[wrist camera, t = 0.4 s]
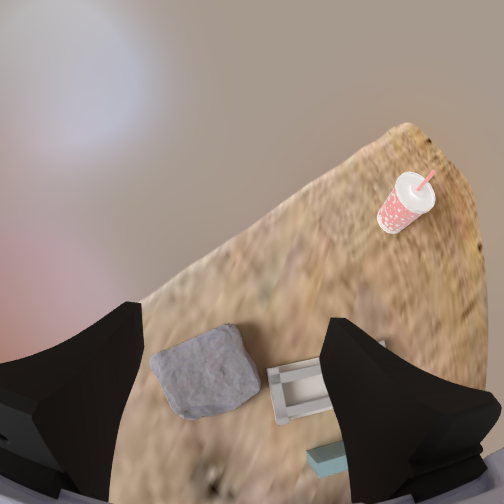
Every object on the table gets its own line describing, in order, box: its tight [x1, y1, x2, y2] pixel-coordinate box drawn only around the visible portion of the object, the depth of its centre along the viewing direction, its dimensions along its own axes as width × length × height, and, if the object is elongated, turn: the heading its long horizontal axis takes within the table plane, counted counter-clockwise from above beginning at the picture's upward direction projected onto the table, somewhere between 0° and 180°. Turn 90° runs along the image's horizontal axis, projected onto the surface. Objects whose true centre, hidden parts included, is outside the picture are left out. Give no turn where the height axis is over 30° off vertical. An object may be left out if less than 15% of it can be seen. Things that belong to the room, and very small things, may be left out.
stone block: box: [149, 323, 261, 420], centre depth 35 cm, size 12×5×10 cm
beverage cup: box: [377, 169, 437, 234], centre depth 39 cm, size 6×6×14 cm
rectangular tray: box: [266, 341, 386, 425], centre depth 35 cm, size 7×15×3 cm, turn 100°
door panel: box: [306, 441, 348, 478], centre depth 31 cm, size 2×8×6 cm, turn 100°
